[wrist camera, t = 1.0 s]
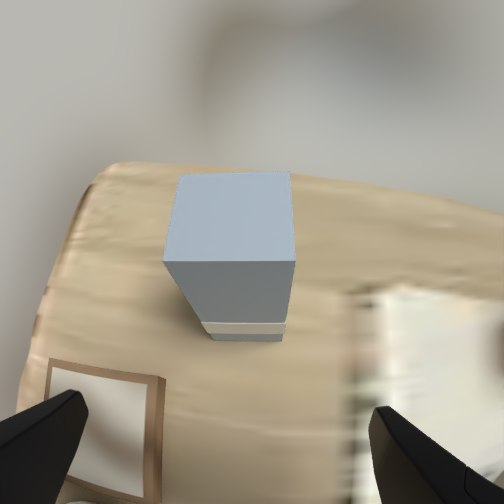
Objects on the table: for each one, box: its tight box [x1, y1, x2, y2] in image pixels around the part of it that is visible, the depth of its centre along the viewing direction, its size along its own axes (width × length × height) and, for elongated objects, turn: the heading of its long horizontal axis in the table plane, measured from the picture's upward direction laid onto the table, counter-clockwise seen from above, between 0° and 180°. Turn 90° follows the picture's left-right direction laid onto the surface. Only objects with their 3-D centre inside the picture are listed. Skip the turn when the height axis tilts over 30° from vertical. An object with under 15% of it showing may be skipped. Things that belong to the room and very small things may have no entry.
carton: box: [163, 172, 296, 341], centre depth 18 cm, size 5×5×12 cm
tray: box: [44, 358, 166, 504], centre depth 18 cm, size 10×10×2 cm
